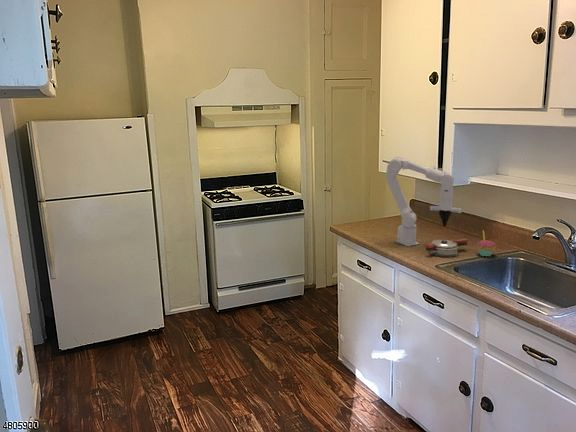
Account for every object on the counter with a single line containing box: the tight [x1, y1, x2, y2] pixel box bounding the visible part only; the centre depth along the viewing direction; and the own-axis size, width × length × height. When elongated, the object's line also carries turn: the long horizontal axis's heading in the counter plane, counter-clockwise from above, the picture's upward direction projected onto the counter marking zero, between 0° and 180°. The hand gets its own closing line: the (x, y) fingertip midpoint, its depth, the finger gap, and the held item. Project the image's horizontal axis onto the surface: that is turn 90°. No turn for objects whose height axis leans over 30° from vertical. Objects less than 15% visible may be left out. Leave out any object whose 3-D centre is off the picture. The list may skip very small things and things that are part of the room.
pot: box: [425, 242, 468, 258], centre depth 229 cm, size 13×23×4 cm, turn 114°
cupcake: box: [475, 230, 497, 258], centre depth 224 cm, size 9×8×12 cm
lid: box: [425, 238, 469, 248], centre depth 228 cm, size 23×11×2 cm, turn 111°
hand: (444, 225), depth 238 cm, fingers closed
